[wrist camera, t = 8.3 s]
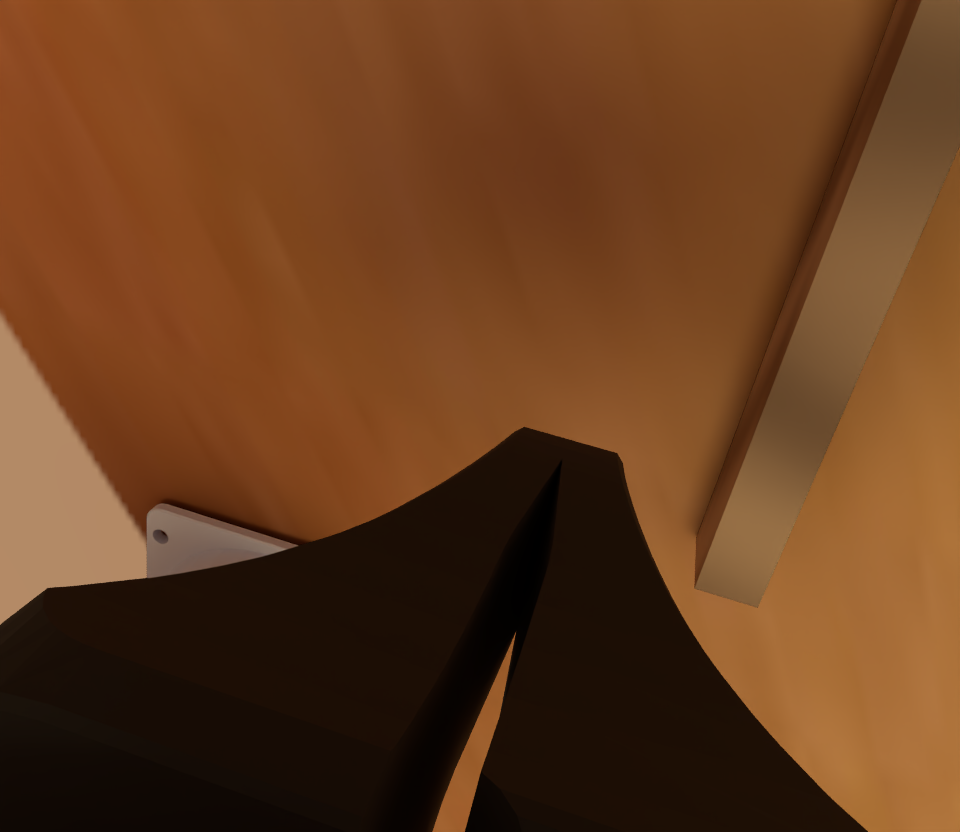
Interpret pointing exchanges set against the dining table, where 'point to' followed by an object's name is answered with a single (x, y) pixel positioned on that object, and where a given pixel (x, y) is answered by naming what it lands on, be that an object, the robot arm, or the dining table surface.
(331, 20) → the dining table surface
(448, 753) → the robot arm
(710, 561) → the flange channel
